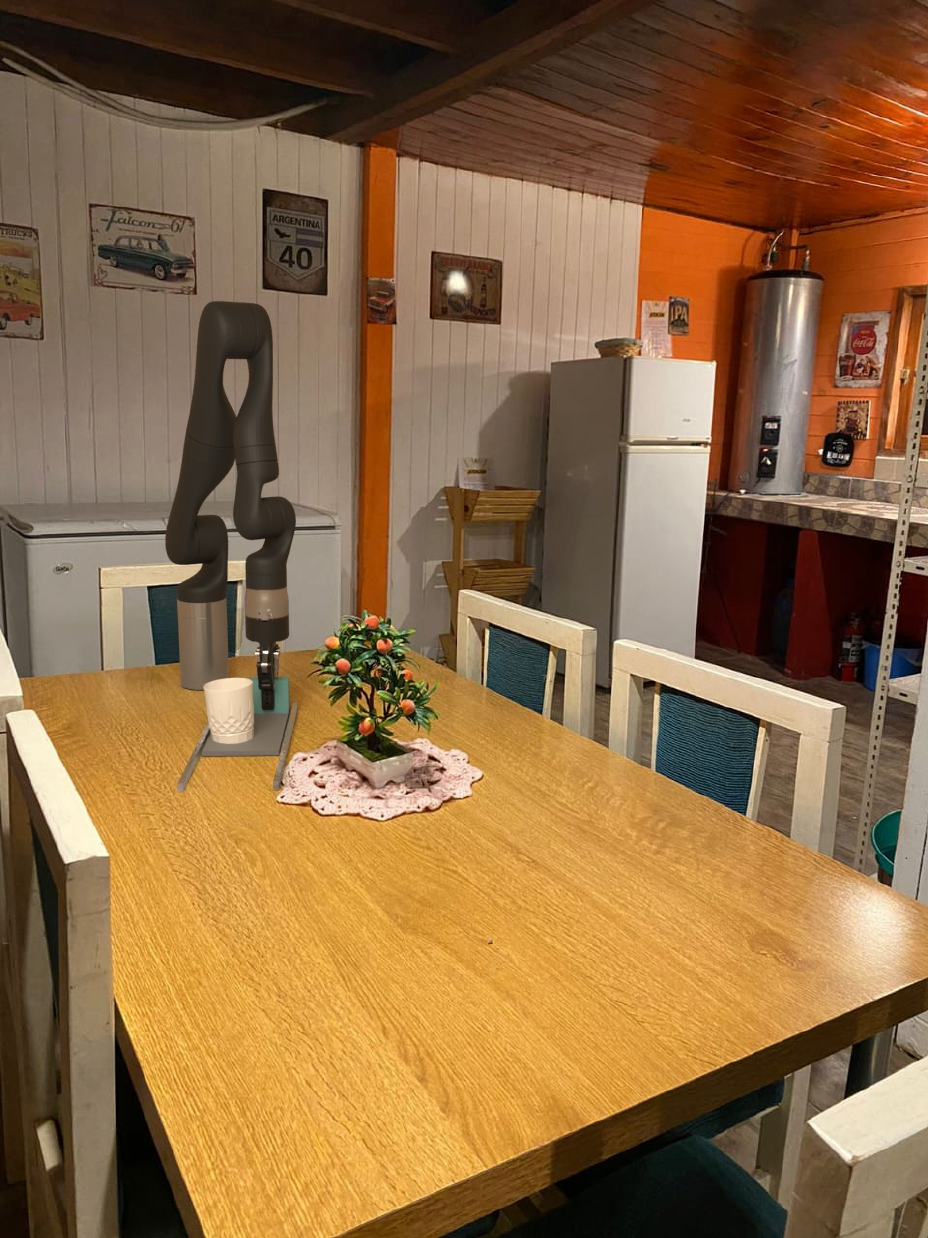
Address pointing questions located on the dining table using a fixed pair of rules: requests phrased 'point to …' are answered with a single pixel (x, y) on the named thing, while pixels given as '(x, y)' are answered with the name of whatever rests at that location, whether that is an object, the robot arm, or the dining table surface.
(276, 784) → the rails
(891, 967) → the dining table surface
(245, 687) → the white cup
